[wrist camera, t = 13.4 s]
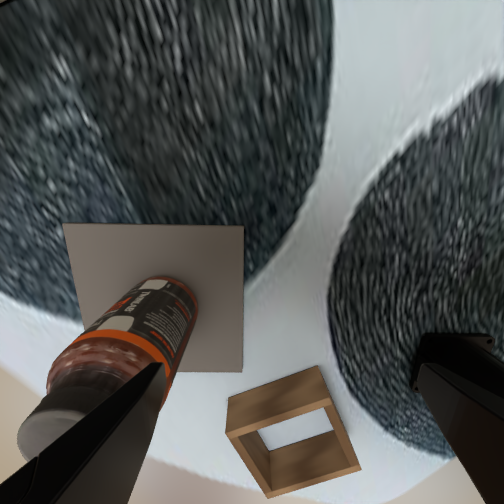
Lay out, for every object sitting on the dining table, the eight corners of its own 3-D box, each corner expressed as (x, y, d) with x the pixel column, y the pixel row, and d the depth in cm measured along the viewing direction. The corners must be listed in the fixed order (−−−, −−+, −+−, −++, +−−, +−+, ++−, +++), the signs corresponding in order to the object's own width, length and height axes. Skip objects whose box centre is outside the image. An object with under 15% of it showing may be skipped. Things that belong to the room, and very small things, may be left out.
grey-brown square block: (243, 225, 19) (243, 226, 18) (242, 368, 23) (242, 372, 22) (66, 222, 18) (62, 223, 18) (96, 367, 22) (93, 371, 22)
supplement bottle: (144, 261, 19) (4, 366, 8) (211, 292, 20) (165, 424, 9) (120, 319, 20) (-26, 473, 10) (183, 345, 21) (115, 514, 10)
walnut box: (317, 365, 23) (329, 397, 19) (346, 431, 25) (361, 469, 22) (228, 397, 24) (225, 433, 20) (265, 458, 26) (267, 498, 23)
